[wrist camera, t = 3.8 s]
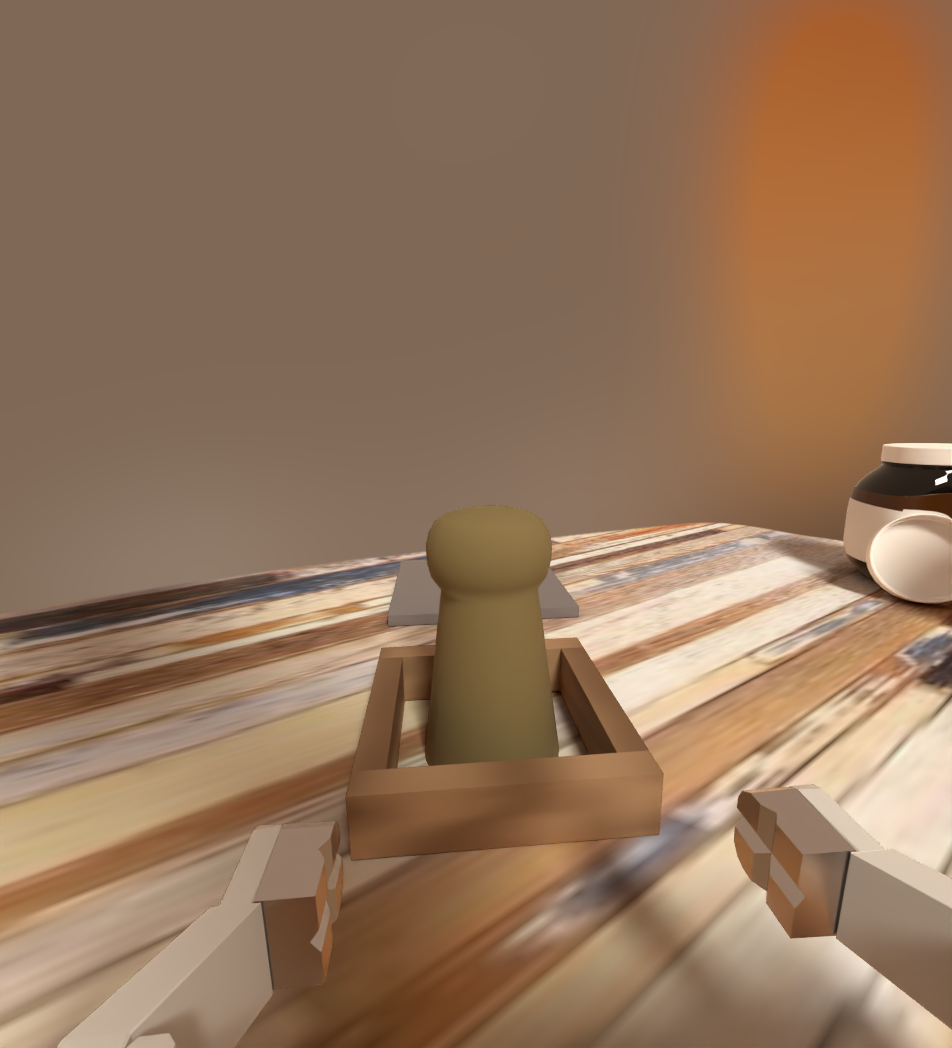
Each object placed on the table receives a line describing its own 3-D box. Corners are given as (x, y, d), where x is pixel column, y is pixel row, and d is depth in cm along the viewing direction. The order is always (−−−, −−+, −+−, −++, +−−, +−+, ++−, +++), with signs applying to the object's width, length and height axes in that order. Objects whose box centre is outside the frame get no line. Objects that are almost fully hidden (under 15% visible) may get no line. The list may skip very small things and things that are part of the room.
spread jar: (936, 566, 47) (959, 442, 44) (1067, 612, 36) (1107, 450, 33) (804, 566, 48) (819, 444, 45) (892, 611, 37) (919, 453, 34)
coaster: (388, 626, 36) (387, 615, 35) (401, 568, 49) (401, 560, 49) (578, 616, 37) (578, 606, 36) (540, 562, 50) (540, 555, 50)
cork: (481, 695, 27) (476, 493, 24) (583, 738, 23) (589, 504, 21) (396, 755, 22) (381, 512, 20) (507, 821, 18) (504, 532, 16)
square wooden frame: (351, 860, 17) (345, 797, 16) (384, 689, 27) (381, 647, 27) (659, 834, 18) (663, 773, 17) (575, 678, 28) (576, 637, 28)
